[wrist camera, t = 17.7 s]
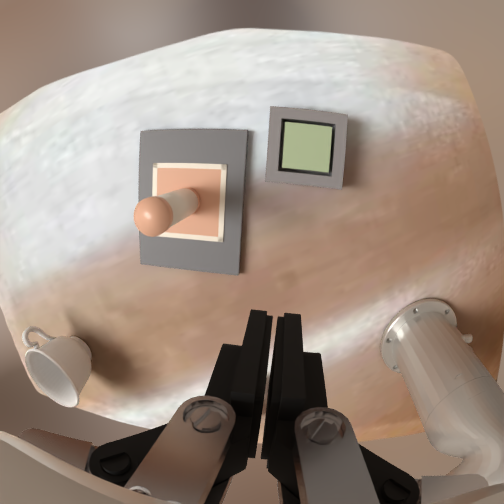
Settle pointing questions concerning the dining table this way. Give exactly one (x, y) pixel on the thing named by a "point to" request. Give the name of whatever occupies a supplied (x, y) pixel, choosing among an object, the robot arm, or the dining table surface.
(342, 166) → the button housing
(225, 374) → the robot arm
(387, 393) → the dining table surface
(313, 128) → the button
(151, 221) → the marker
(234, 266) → the picture board
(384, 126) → the dining table surface
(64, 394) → the teacup
